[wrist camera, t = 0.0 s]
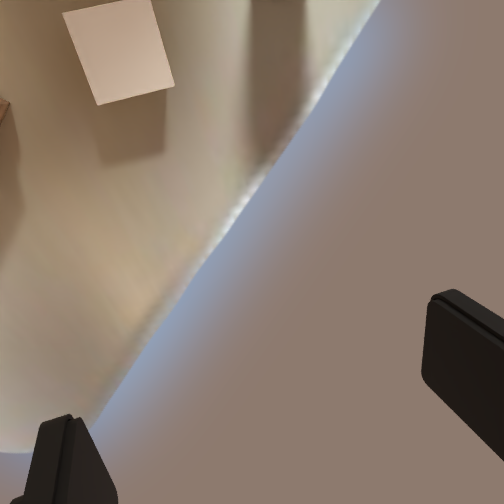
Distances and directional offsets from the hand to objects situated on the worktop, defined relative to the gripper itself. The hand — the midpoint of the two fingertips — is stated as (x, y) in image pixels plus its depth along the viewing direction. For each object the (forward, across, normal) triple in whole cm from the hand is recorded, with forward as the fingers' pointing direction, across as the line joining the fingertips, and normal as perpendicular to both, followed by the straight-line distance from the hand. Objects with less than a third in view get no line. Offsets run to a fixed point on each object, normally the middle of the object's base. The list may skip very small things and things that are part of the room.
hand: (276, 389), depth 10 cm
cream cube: (+31, +1, -9) cm, 33 cm away
